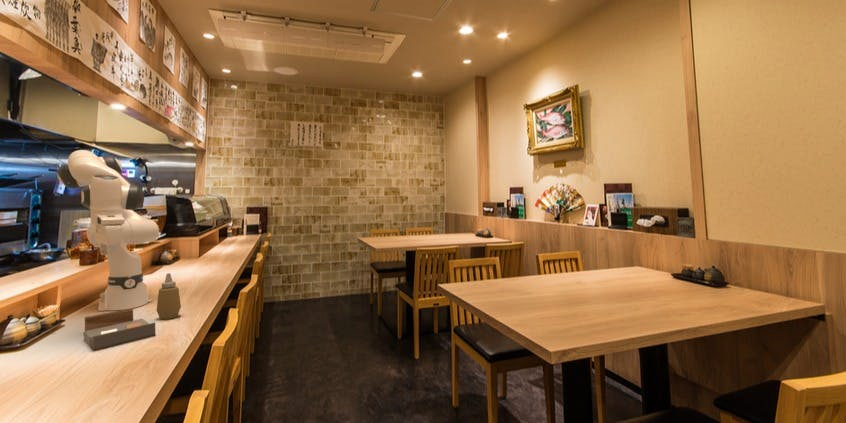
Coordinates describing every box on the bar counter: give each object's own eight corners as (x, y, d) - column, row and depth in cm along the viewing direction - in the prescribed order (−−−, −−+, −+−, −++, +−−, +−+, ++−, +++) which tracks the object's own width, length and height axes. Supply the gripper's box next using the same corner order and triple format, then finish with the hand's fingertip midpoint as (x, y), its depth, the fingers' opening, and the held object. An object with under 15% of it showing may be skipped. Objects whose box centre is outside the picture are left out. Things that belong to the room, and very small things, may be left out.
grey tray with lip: (83, 340, 118) (83, 327, 118) (142, 326, 131) (142, 314, 131) (94, 351, 110) (93, 337, 110) (155, 335, 123) (155, 323, 122)
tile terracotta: (125, 327, 121) (126, 325, 120) (139, 324, 124) (140, 322, 123) (127, 337, 119) (128, 335, 119) (142, 334, 123) (143, 332, 122)
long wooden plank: (84, 333, 125) (84, 317, 124) (131, 323, 135) (131, 308, 134) (86, 335, 123) (85, 318, 122) (133, 325, 133) (132, 310, 133)
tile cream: (100, 334, 115) (100, 332, 115) (116, 331, 118) (116, 328, 118) (102, 344, 113) (103, 341, 113) (118, 340, 117) (119, 338, 116)
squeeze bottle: (185, 314, 145) (185, 271, 145) (170, 321, 137) (169, 276, 137) (168, 313, 146) (167, 271, 146) (151, 320, 138) (150, 275, 138)
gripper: (88, 218, 132) (89, 254, 132) (102, 220, 120) (103, 259, 120) (110, 217, 137) (111, 252, 137) (126, 219, 125) (126, 257, 125)
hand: (107, 256), depth 128 cm, fingers open, 8 cm apart
